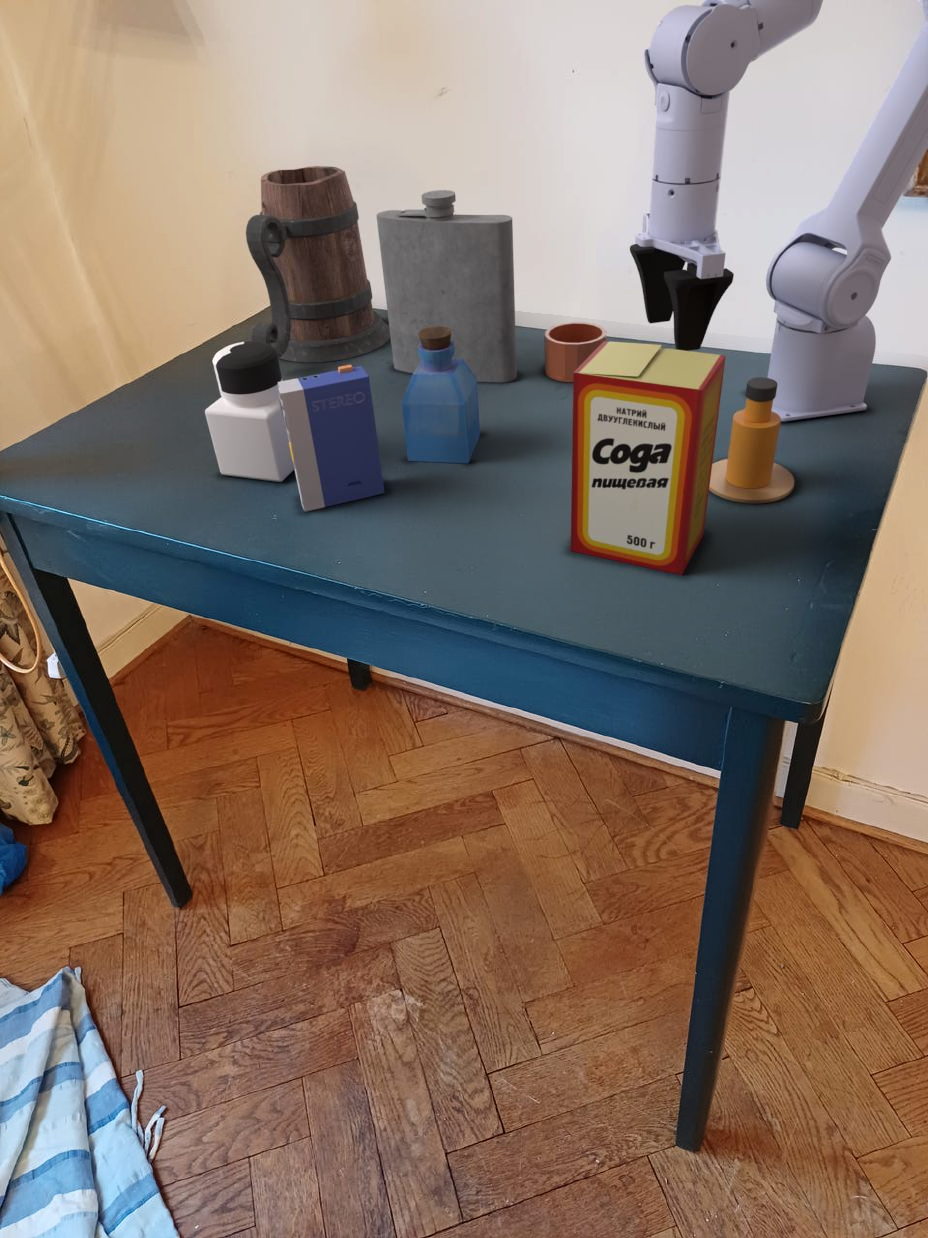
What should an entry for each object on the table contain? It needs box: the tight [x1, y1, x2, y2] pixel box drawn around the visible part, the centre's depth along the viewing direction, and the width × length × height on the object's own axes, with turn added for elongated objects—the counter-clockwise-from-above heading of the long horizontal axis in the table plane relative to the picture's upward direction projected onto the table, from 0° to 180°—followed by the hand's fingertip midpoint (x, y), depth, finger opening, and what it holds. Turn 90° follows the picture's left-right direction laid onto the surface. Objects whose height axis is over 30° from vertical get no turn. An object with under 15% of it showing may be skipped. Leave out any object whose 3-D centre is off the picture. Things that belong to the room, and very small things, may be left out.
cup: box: [543, 321, 608, 383], centre depth 103 cm, size 7×7×4 cm
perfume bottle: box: [401, 326, 481, 464], centre depth 87 cm, size 6×6×12 cm
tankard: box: [245, 165, 391, 363], centre depth 109 cm, size 24×17×20 cm
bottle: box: [725, 376, 782, 489], centre depth 78 cm, size 4×4×9 cm
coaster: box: [709, 458, 795, 505], centre depth 81 cm, size 8×8×1 cm
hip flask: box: [376, 189, 518, 384], centre depth 100 cm, size 16×4×20 cm, turn 66°
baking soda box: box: [570, 340, 727, 576], centre depth 70 cm, size 10×6×16 cm
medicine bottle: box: [204, 341, 295, 483], centre depth 87 cm, size 7×7×12 cm
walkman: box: [278, 364, 386, 512], centre depth 80 cm, size 8×3×12 cm, turn 110°
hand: (672, 334), depth 83 cm, fingers open, 7 cm apart
